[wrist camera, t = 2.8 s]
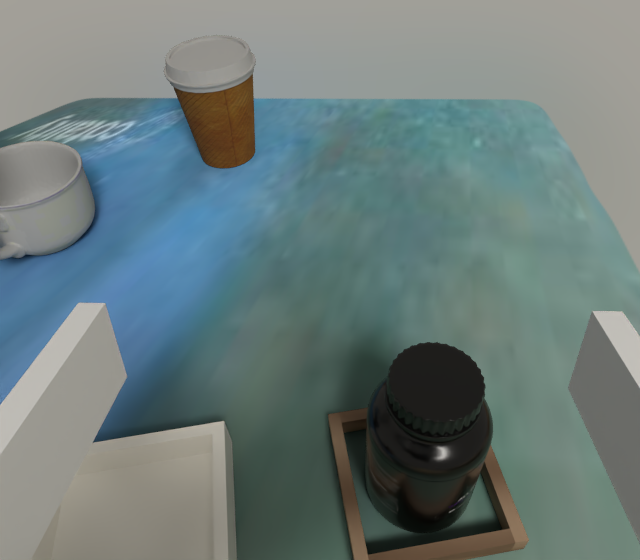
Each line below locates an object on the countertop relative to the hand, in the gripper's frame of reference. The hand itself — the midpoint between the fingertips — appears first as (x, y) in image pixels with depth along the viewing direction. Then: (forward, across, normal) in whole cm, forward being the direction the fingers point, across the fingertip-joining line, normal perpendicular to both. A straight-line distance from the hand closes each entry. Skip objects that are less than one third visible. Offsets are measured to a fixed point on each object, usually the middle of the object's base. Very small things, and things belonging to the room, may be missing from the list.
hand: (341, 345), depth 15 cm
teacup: (+34, -31, -16) cm, 48 cm away
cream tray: (+7, -13, -22) cm, 26 cm away
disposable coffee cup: (+49, -15, -12) cm, 52 cm away
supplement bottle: (+11, +5, -21) cm, 24 cm away
